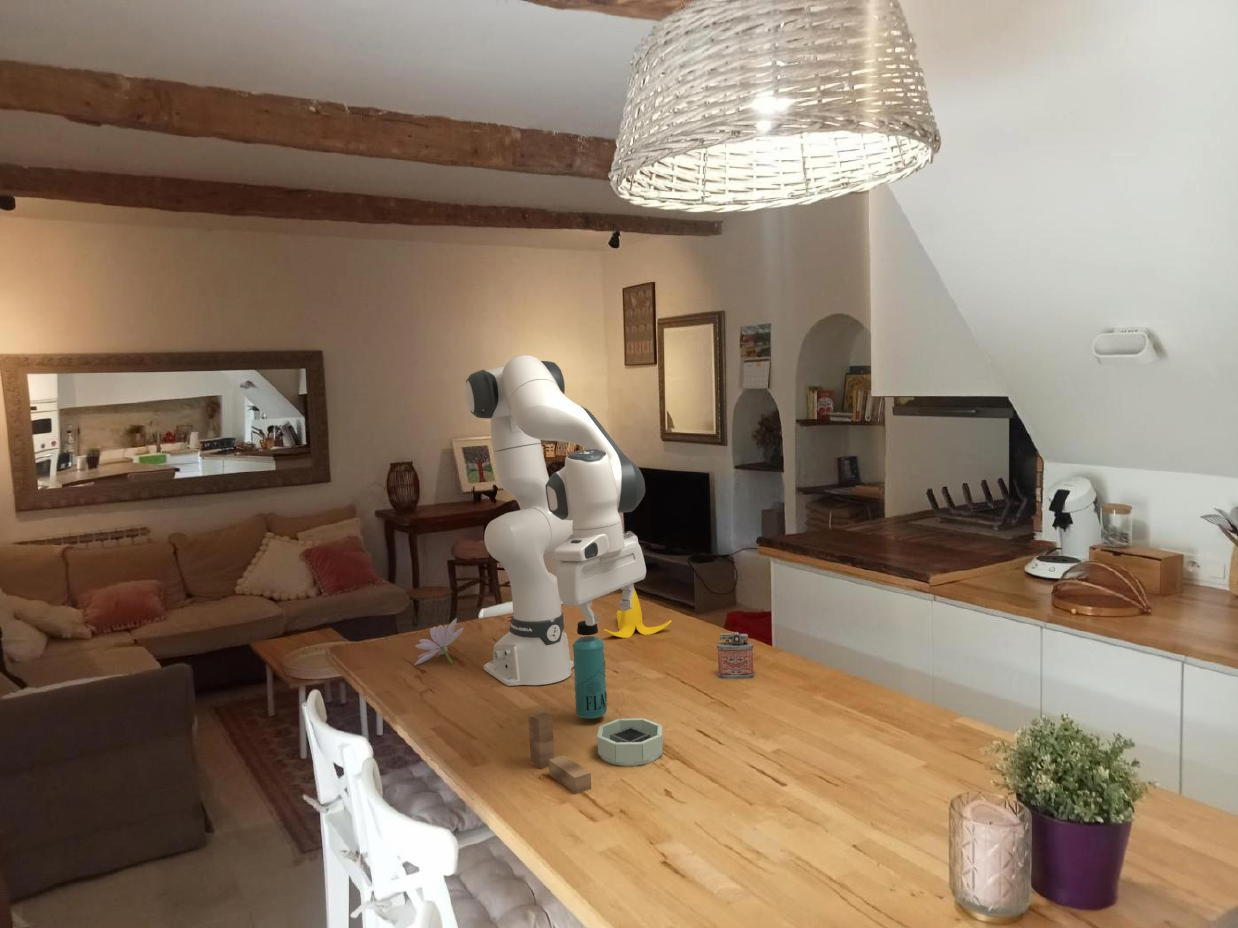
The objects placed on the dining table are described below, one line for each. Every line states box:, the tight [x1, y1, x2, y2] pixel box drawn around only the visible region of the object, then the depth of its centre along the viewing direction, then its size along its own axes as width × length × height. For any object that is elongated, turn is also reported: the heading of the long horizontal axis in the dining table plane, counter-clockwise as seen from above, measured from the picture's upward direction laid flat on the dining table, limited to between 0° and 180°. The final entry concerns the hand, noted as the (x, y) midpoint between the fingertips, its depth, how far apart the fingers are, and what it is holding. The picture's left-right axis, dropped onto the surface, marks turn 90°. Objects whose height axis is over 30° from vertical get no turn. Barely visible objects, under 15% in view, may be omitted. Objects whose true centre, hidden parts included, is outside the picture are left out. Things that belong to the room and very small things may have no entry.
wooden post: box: [527, 710, 555, 770], centre depth 159 cm, size 3×3×9 cm
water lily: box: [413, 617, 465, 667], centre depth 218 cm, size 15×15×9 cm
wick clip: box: [610, 727, 651, 743], centre depth 162 cm, size 5×5×2 cm
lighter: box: [716, 631, 755, 680], centre depth 199 cm, size 8×3×10 cm, turn 84°
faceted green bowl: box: [596, 717, 664, 767], centre depth 162 cm, size 12×12×4 cm
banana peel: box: [603, 588, 673, 639], centre depth 235 cm, size 17×19×17 cm
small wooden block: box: [548, 754, 592, 795], centre depth 152 cm, size 9×3×3 cm, turn 33°
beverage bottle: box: [572, 620, 608, 719], centre depth 177 cm, size 6×7×20 cm
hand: (609, 616), depth 159 cm, fingers open, 8 cm apart
